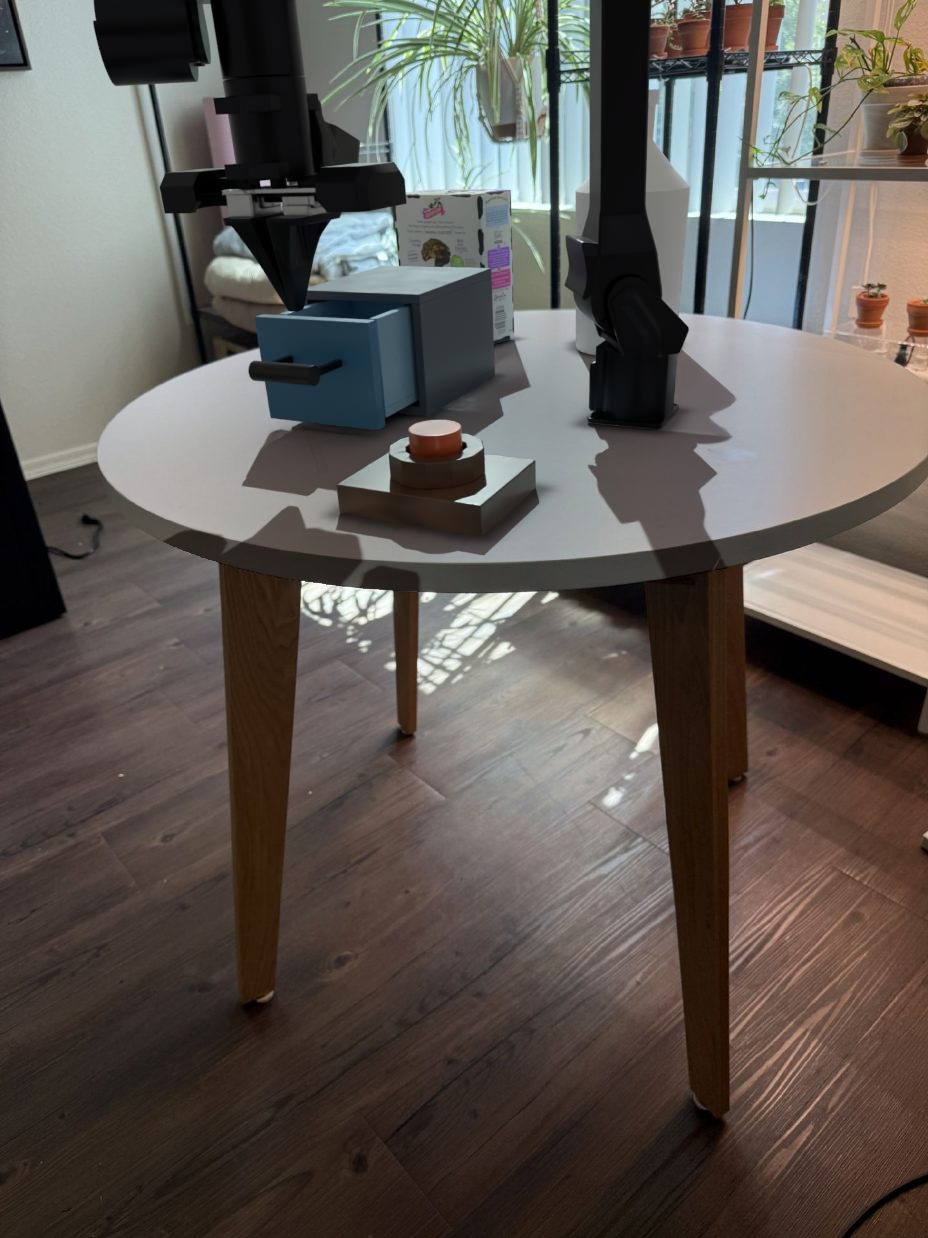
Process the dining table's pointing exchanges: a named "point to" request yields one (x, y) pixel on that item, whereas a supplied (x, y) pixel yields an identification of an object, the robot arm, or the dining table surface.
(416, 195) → the candy box
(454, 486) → the control block
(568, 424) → the dining table surface
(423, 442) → the button
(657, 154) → the bottle
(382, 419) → the blue drawer
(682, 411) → the dining table surface
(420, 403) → the drawer cabinet
